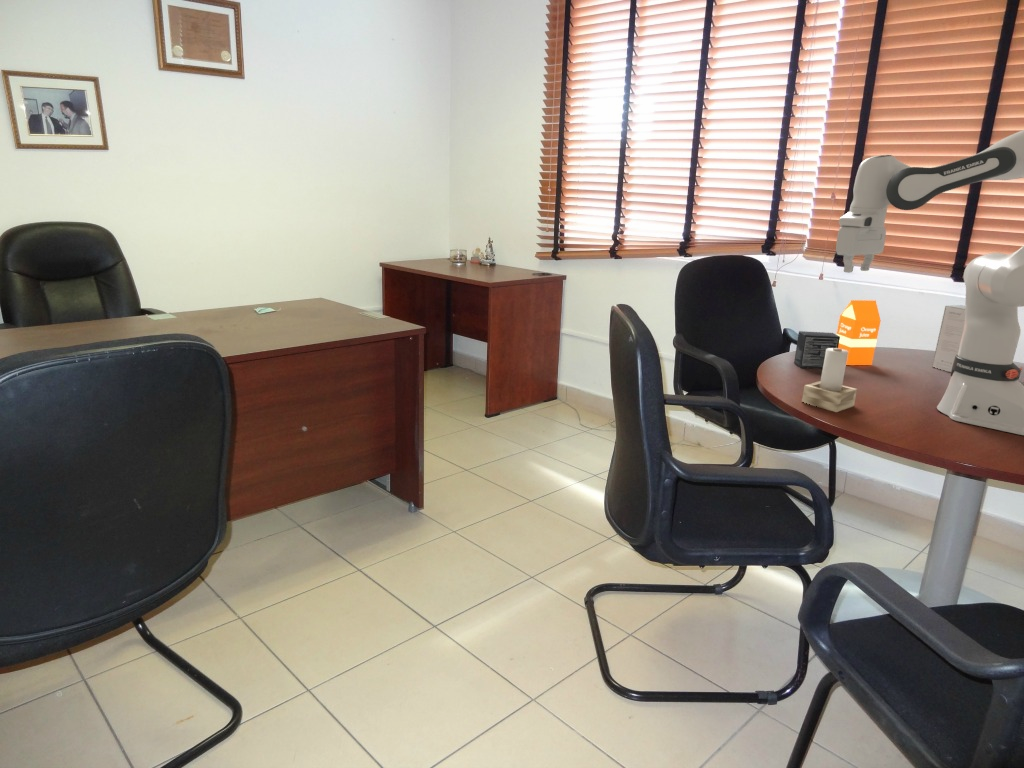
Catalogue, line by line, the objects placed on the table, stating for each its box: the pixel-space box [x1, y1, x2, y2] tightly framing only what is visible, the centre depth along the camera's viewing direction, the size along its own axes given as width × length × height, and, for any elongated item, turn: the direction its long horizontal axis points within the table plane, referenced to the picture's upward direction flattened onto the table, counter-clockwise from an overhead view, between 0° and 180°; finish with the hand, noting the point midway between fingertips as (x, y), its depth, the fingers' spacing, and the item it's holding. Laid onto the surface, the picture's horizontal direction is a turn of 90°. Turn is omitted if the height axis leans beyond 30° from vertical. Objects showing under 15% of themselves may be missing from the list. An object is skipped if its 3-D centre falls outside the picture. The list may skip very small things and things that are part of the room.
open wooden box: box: [801, 380, 858, 413], centre depth 166 cm, size 9×9×4 cm
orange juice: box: [835, 299, 881, 365], centre depth 207 cm, size 8×9×20 cm
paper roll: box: [819, 348, 848, 392], centre depth 164 cm, size 5×5×12 cm
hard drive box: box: [931, 304, 965, 373], centre depth 200 cm, size 16×8×20 cm, turn 22°
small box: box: [793, 330, 840, 370], centre depth 202 cm, size 11×6×10 cm, turn 84°
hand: (856, 271), depth 180 cm, fingers open, 8 cm apart
